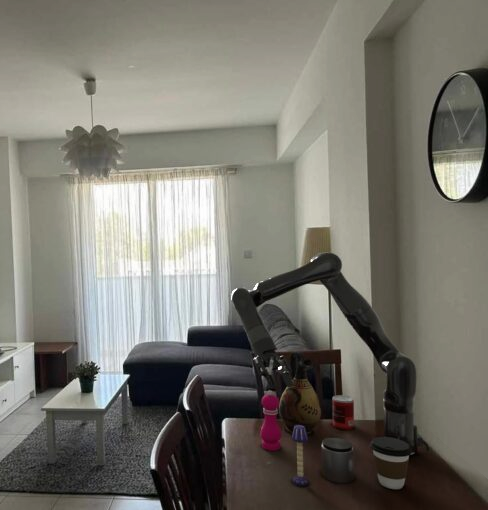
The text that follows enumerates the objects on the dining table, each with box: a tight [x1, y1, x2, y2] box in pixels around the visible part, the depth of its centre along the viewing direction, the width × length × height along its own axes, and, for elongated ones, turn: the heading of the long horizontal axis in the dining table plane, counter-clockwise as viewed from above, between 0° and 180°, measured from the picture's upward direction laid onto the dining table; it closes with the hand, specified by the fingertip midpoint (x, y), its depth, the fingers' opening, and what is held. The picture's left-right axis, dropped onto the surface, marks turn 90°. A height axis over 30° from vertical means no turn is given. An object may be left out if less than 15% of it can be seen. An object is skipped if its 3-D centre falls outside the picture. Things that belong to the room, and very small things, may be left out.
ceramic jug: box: [278, 350, 322, 435], centre depth 179 cm, size 17×15×30 cm
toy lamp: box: [291, 425, 309, 487], centre depth 138 cm, size 5×5×17 cm
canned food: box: [332, 394, 355, 430], centre depth 182 cm, size 8×8×11 cm
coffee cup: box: [369, 436, 412, 490], centre depth 136 cm, size 11×11×12 cm
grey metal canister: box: [321, 437, 355, 484], centre depth 142 cm, size 9×9×10 cm
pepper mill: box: [259, 389, 282, 451], centre depth 164 cm, size 7×7×20 cm
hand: (282, 386), depth 148 cm, fingers open, 8 cm apart
